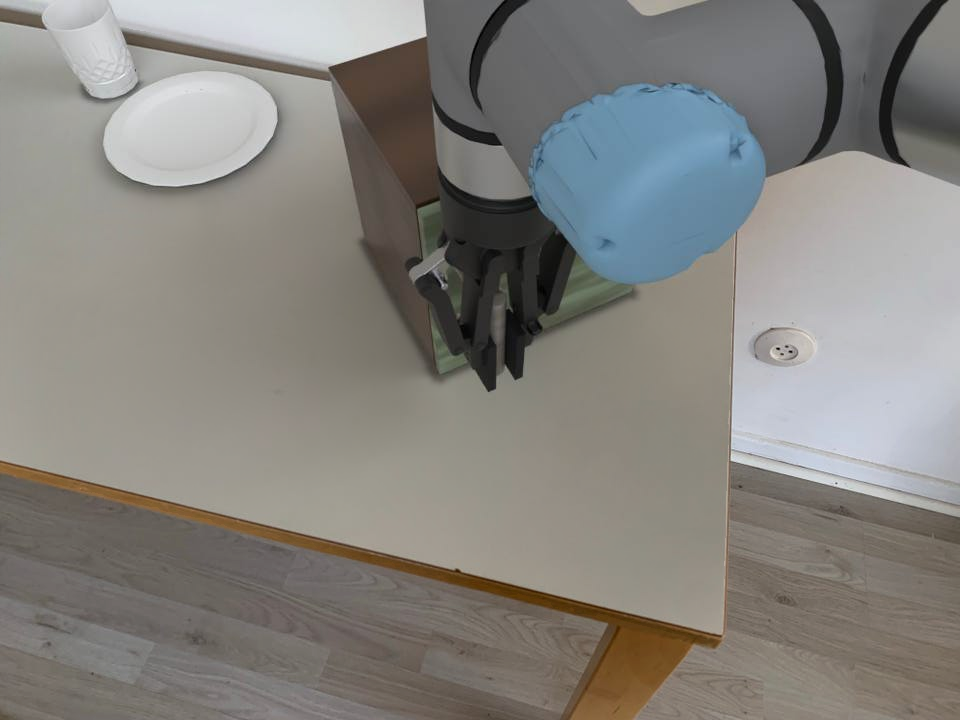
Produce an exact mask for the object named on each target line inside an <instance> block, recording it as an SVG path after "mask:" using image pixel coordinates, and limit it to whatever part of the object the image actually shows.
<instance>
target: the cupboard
mask: <svg viewBox="0 0 960 720" xmlns="http://www.w3.org/2000/svg"><path fill="white" fill-rule="evenodd" d="M327 69H328V73H329V74H328V75H329V79H330V84H331V89H332V93H333V98H334V102H335V108H336V111H337V117H338V121H339V125H340V129H341V136H342V139H343V144H344V149H345V153H346V158H347V163H348V167H349V172H350V177H351V180H352V186H353V191H354V195H355V201H356V204H357V209H358V214H359V220H360V223H361V229H362V232H363V233H362V234H363V237H364V242H365V245H366V246H367V248H368V249H369V252H370V253H371V255H372V257H373V258H374V260H375V262H376V265H378V267H379V269H380V271H381V272H382V274H383V276H384V278H385V280H386V281H387V283H388V285H389V287H390V289H391V291H392V292H393V294H394V296H395V298H396V300H397V301H398V303H399V305H400V306H401V308H402V310H403V312H404V314H405V316H406V317H407V320H408V321H409V323H410V324H411V326H412V328H413V331H414V332H415V333H416V335H417V337H418V339H419V340H420V342H421V345H422V346H423V348H424V350H425V352H426V353H427V355H428V357H429V359H430V360H431V362H432V364H433V366H435V367H436V363H435V354H434V346H433V338H432V329H431V321H430V313H429V306H428V303H427V300H426V299H425V298H424V297H422V296H421V295H420V294H419V292H418V290H417V289H416V287H415V285H414V284H413V282H412V280H411V278H410V277H409V275H408V273H407V271H406V270H405V268H404V264H405V262H406V261H407V260H408V259H410V258H412V257H419V258H420V259H422V260H423V254H422V246H421V238H420V229H419V221H418V212H417V209H419V208H421V207H424V206H427V205H429V204H432V203H435V202H437V201H440V195H439V183H438V160H437V154H436V142H435V130H434V117H433V105H432V90H431V80H430V69H429V58H428V46H427V35H426V36H423V37H419V38H417V39H414V40H410V41H407V42H404V43H401V44H398V45H394V46H391V47H388V48H384V49H381V50H378V51H374V52H372V53H369V54H366V55H363V56H359V57H355V58H352V59H349V60H347V61H346V60H345V61H343V62H339V63H337V64H333V65H330V66H328V67H327Z"/></svg>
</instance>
